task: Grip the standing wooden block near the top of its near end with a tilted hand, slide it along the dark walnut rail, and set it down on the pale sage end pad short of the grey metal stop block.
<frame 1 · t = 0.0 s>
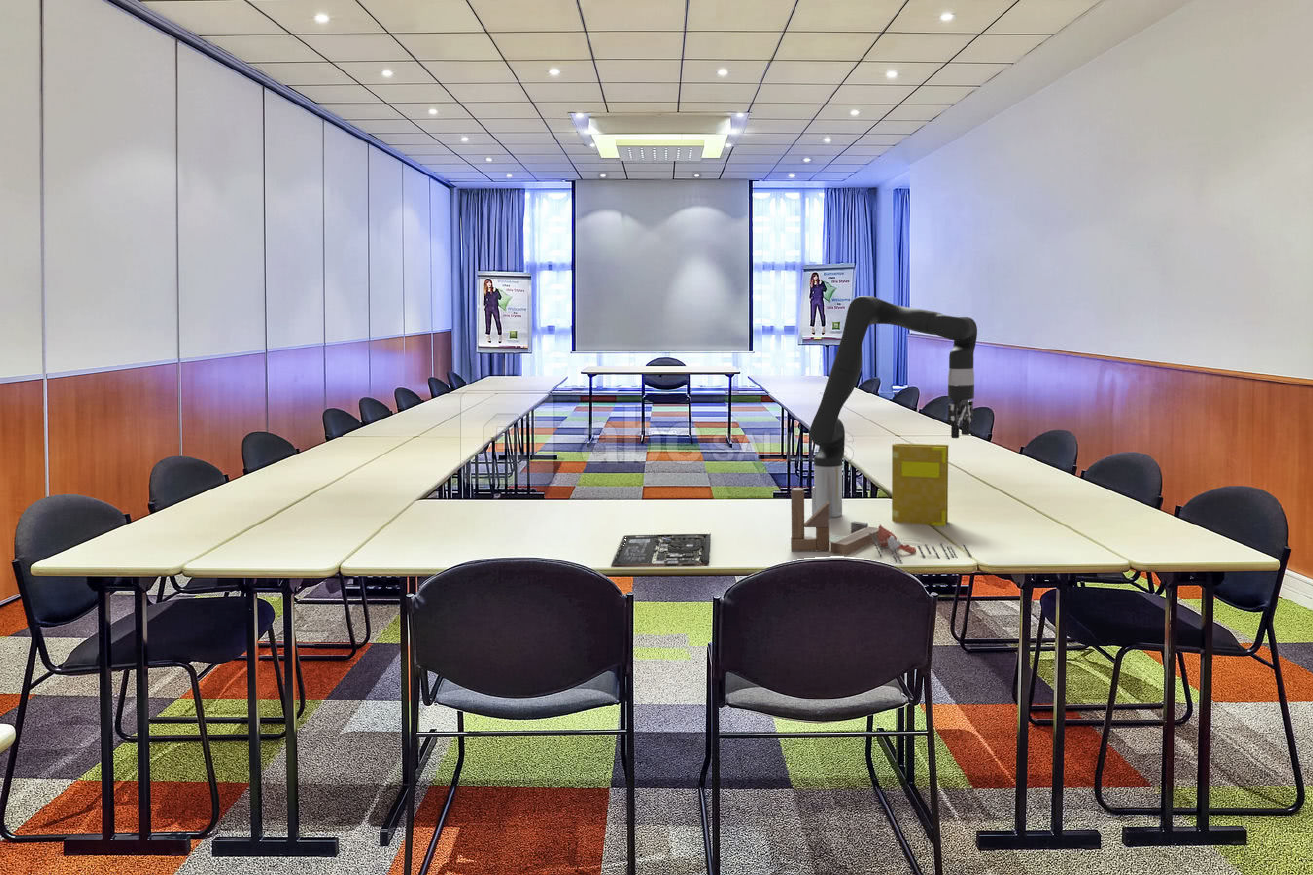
hand: (960, 436, 285), 29 cm above the table, tool pointing down, fingers open, 8 cm apart
wooden block: (810, 550, 270), on the table
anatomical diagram: (919, 556, 262), on the table
end pad: (834, 539, 282), on the table
laptop interior: (663, 553, 275), on the table
book: (919, 522, 301), on the table
walnut rail: (857, 545, 274), on the table
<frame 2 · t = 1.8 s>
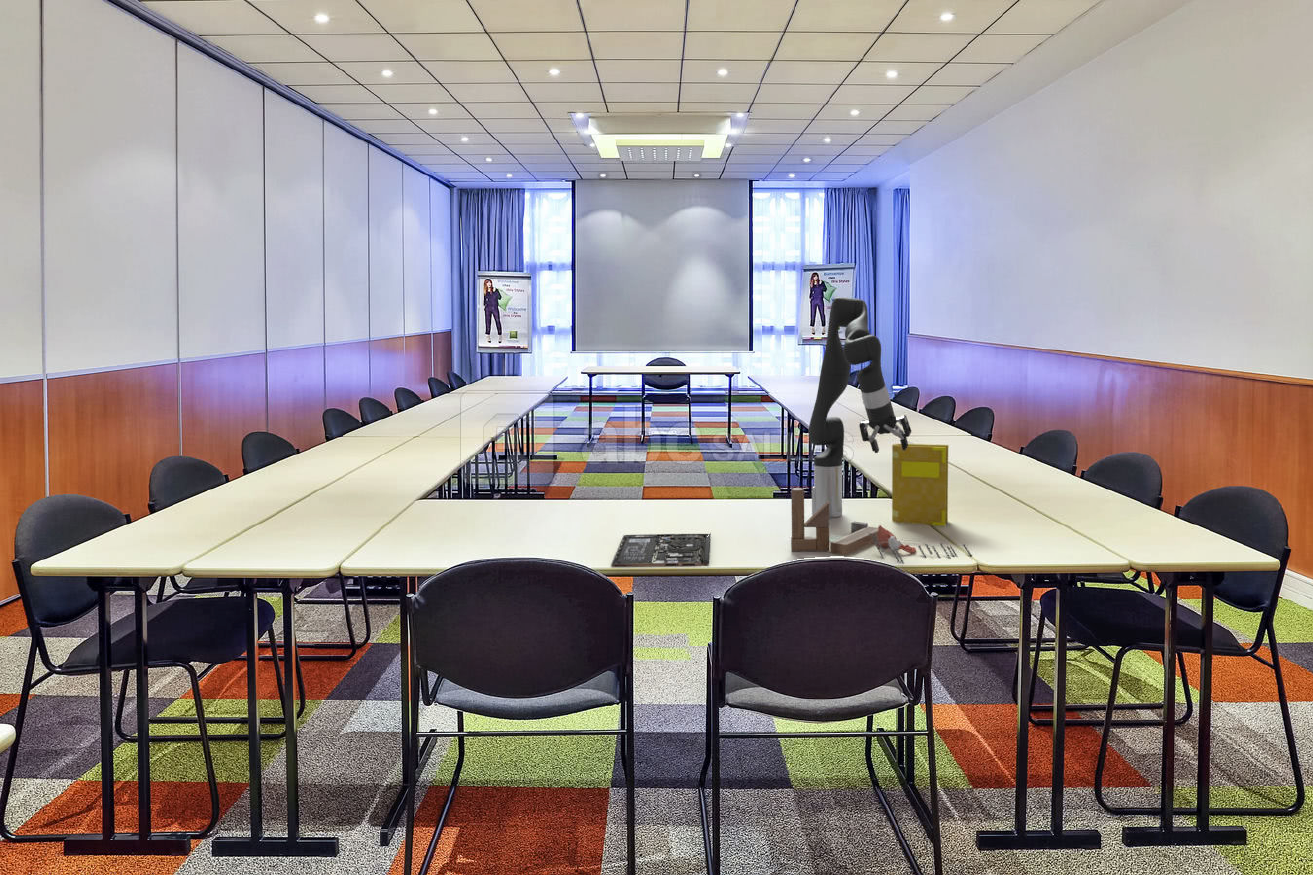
hand: (890, 450, 276), 27 cm above the table, tool tilted 25°, fingers open, 8 cm apart
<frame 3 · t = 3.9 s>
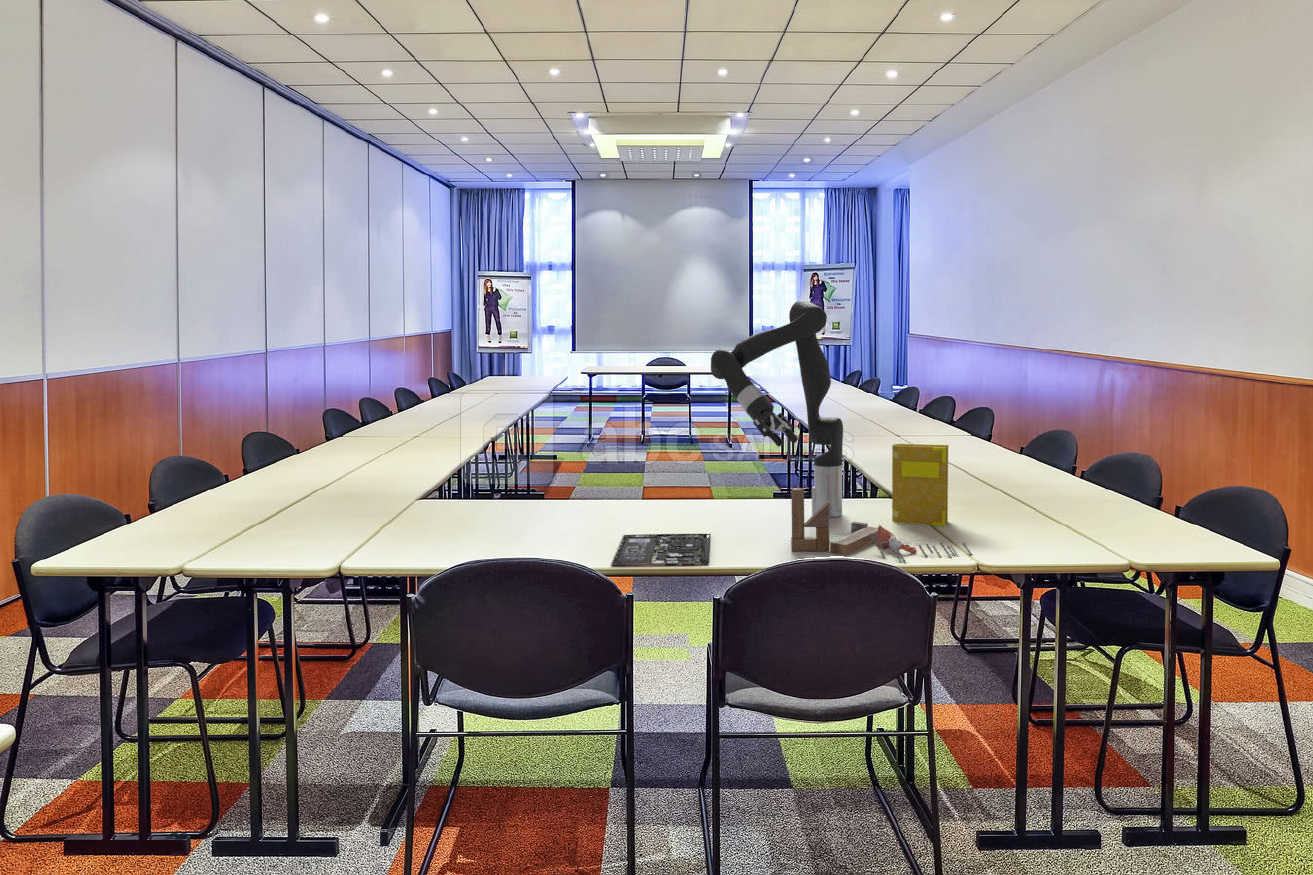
hand: (788, 443, 275), 30 cm above the table, tool tilted 45°, fingers open, 8 cm apart
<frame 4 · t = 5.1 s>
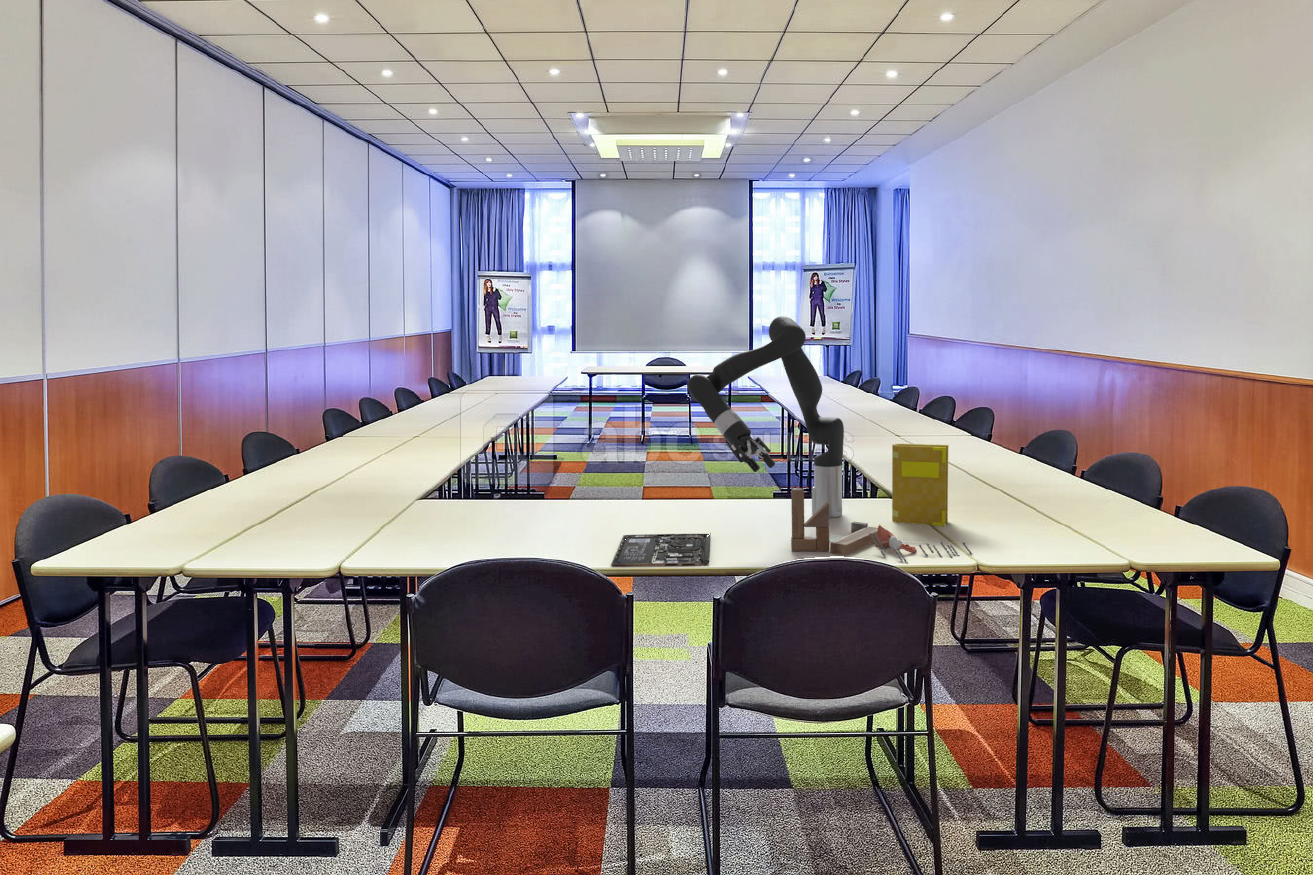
hand: (765, 468, 276), 23 cm above the table, tool tilted 45°, fingers open, 8 cm apart
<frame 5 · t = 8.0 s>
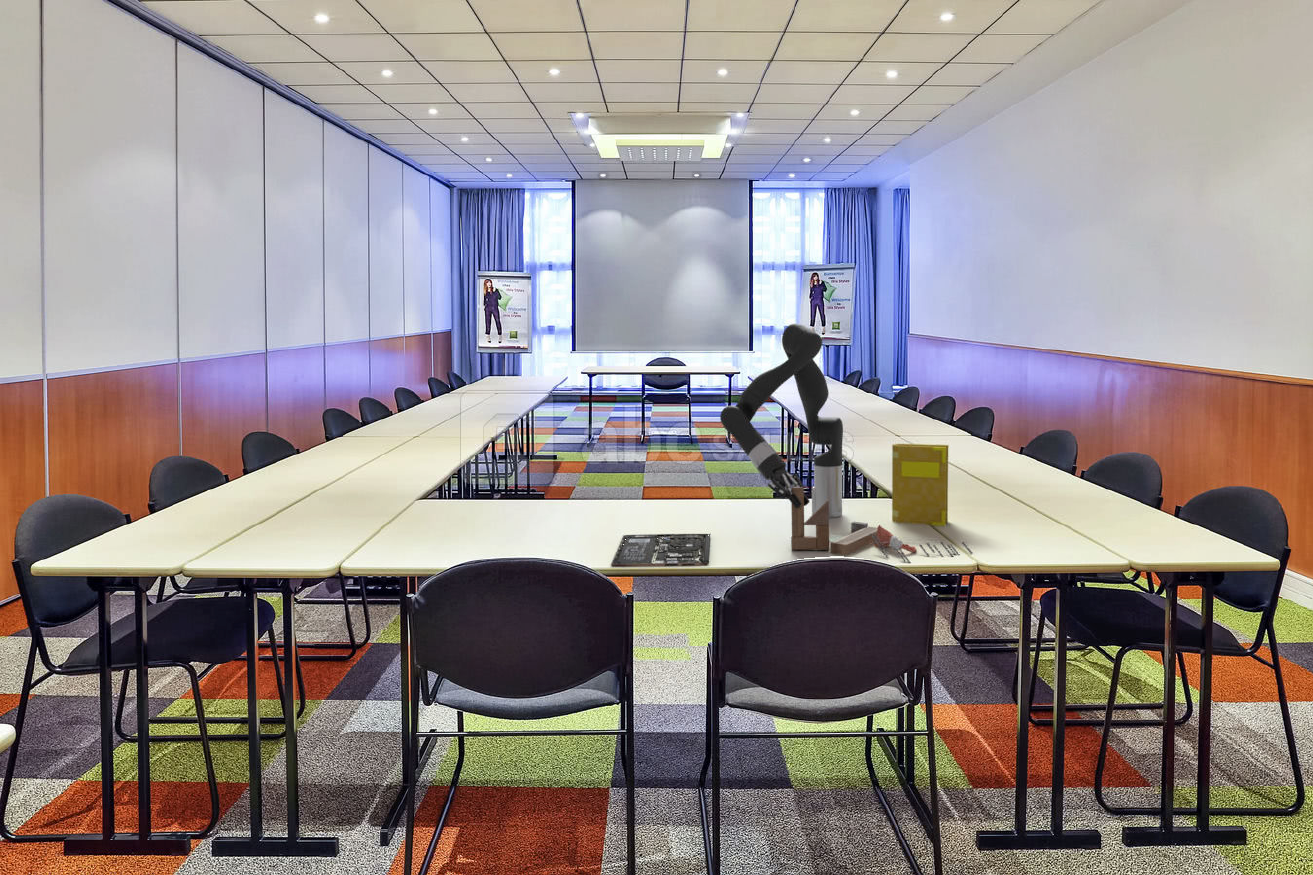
hand: (803, 504, 269), 13 cm above the table, tool tilted 45°, fingers closed on wooden block, 3 cm apart
wooden block: (810, 550, 270), on the table, touching gripper
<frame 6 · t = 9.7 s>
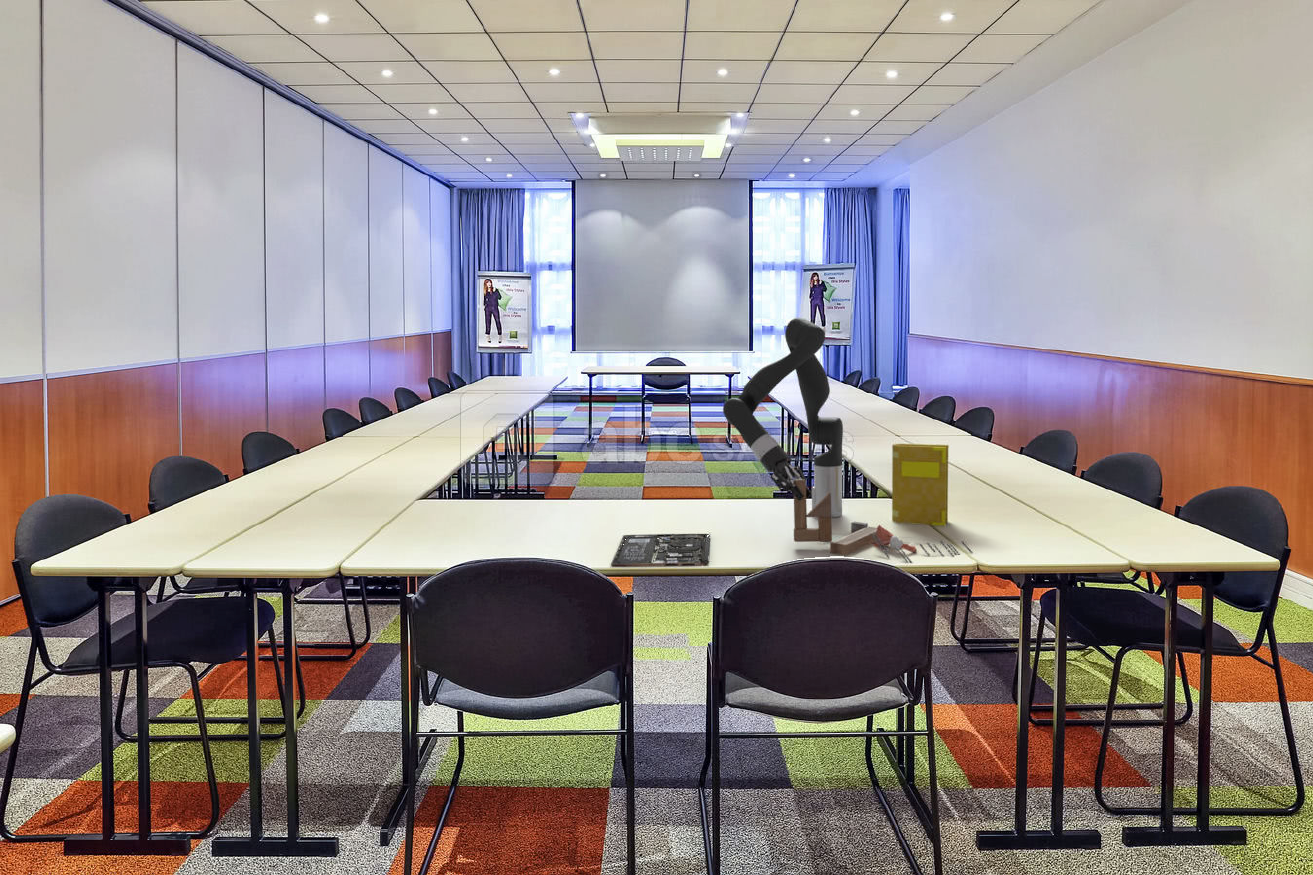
hand: (805, 497, 271), 15 cm above the table, tool tilted 45°, fingers closed on wooden block, 3 cm apart
wooden block: (812, 541, 271), point 2 cm above the table, touching gripper
when the fingers open (14 cm above the table, at t = 13.6 s): wooden block stays where it is, resting on end pad.
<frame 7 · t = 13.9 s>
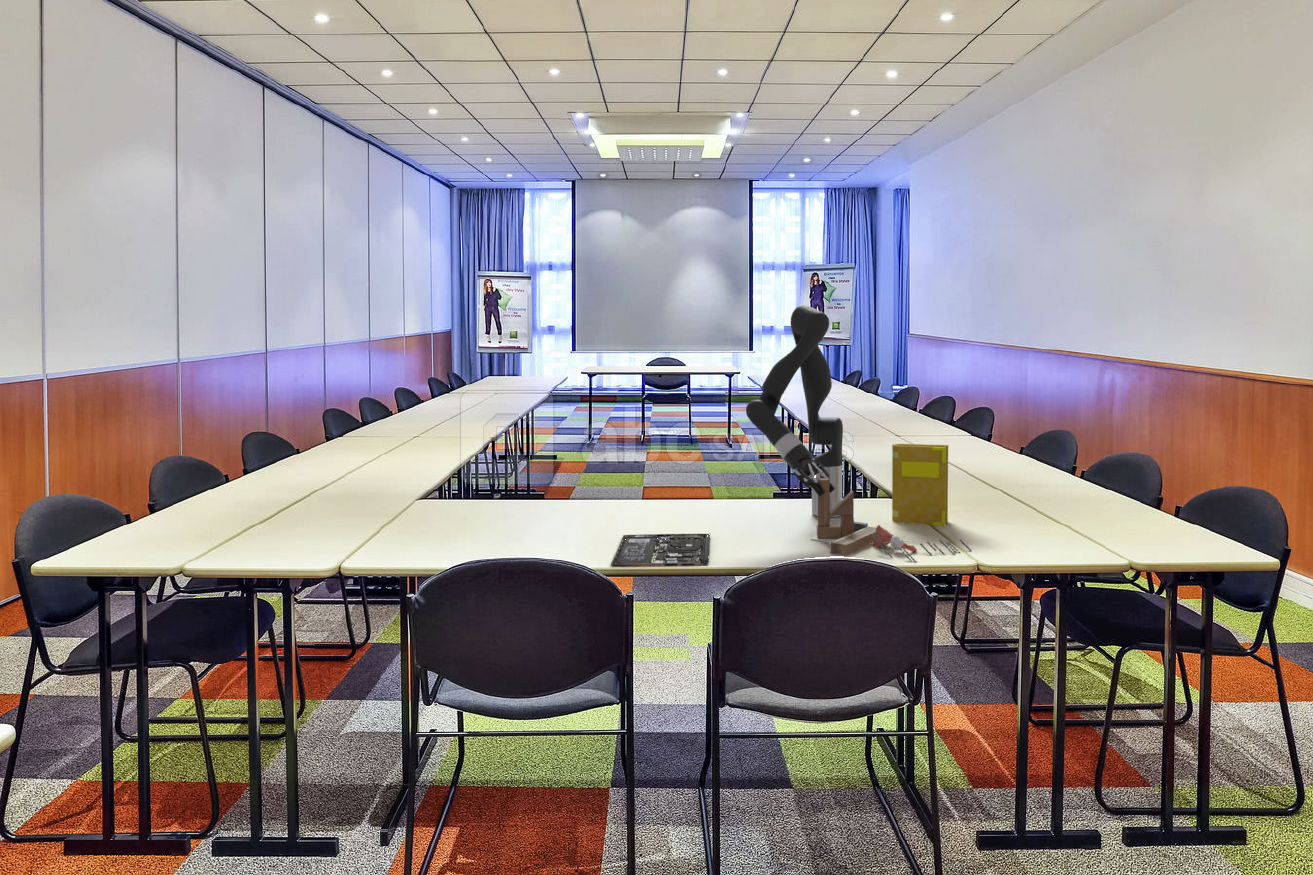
hand: (827, 492, 281), 14 cm above the table, tool tilted 45°, fingers open, 5 cm apart
wooden block: (835, 538, 283), resting on end pad
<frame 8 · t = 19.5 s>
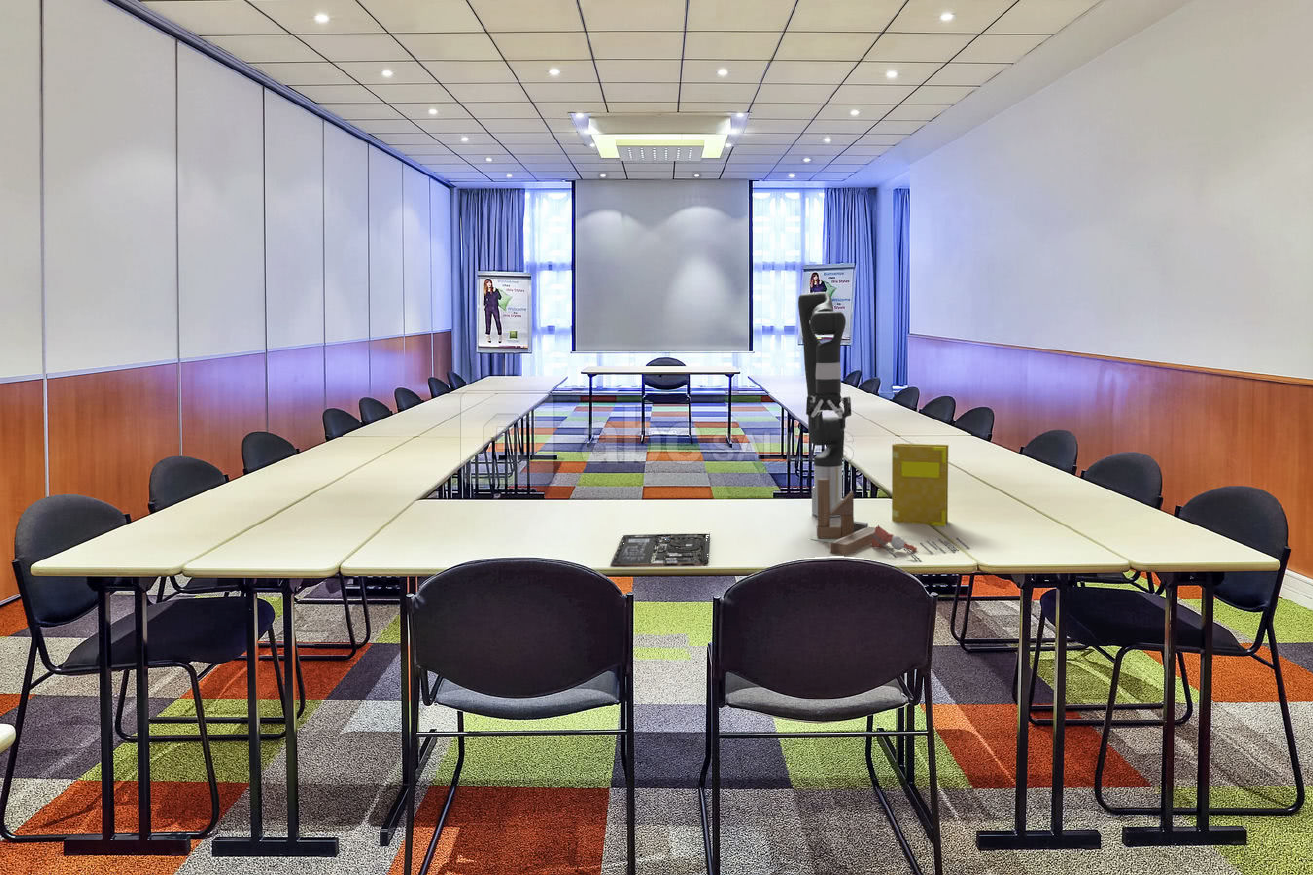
hand: (828, 430, 287), 32 cm above the table, tool pointing down, fingers open, 8 cm apart
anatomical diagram: (921, 553, 266), on the table
everything else where it was.
at the end: wooden block inside the target area (1.3 cm from its centre), on the table; wooden block tilted 0°; the gripper is holding nothing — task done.
